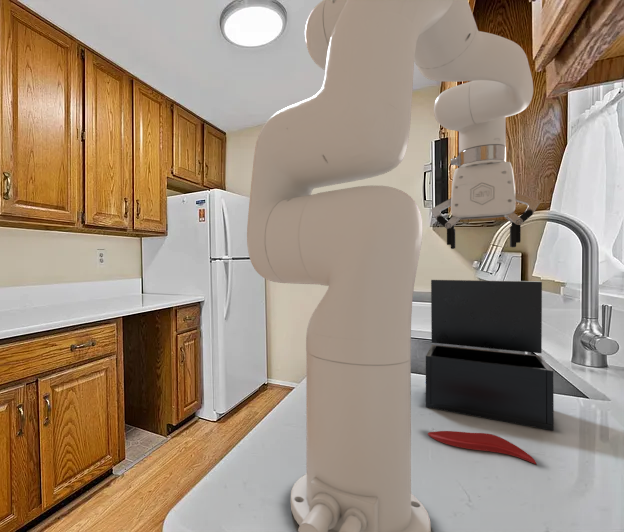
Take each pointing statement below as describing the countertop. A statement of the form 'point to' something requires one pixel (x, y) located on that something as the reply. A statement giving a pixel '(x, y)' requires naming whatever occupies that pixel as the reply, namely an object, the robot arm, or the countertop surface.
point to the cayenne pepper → (480, 443)
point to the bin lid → (487, 314)
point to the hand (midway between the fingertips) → (481, 247)
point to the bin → (491, 385)
